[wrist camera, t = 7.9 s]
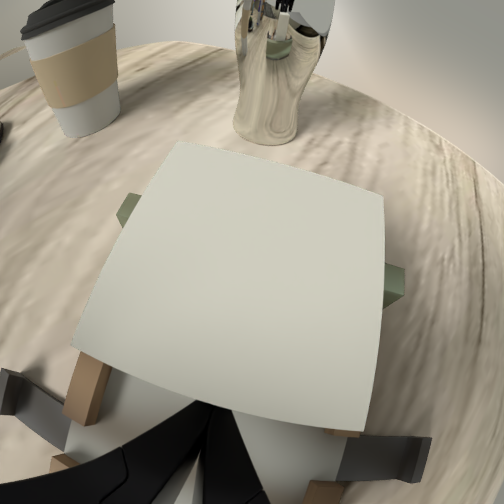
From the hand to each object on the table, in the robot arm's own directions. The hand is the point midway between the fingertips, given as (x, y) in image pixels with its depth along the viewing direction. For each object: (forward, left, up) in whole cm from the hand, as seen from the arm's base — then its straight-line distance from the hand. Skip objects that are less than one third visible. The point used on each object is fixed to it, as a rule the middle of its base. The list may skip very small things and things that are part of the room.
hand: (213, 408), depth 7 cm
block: (+2, -2, -7) cm, 7 cm away
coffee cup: (+29, +1, -7) cm, 30 cm away
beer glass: (+18, -14, -7) cm, 24 cm away
